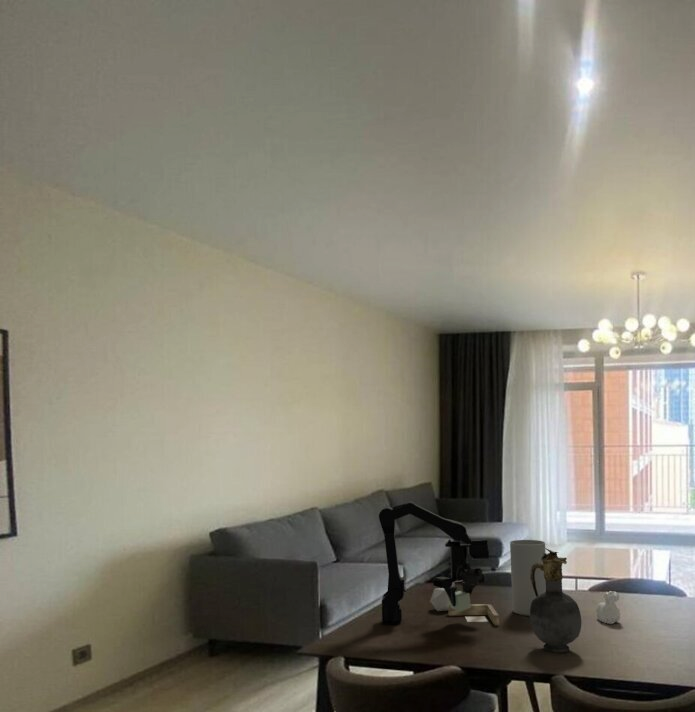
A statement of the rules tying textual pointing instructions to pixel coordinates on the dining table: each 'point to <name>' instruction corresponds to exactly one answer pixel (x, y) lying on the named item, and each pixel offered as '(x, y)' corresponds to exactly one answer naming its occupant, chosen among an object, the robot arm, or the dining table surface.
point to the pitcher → (554, 607)
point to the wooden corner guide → (477, 613)
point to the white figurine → (609, 608)
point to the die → (440, 599)
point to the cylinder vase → (525, 573)
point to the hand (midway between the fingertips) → (460, 605)
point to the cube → (461, 601)
